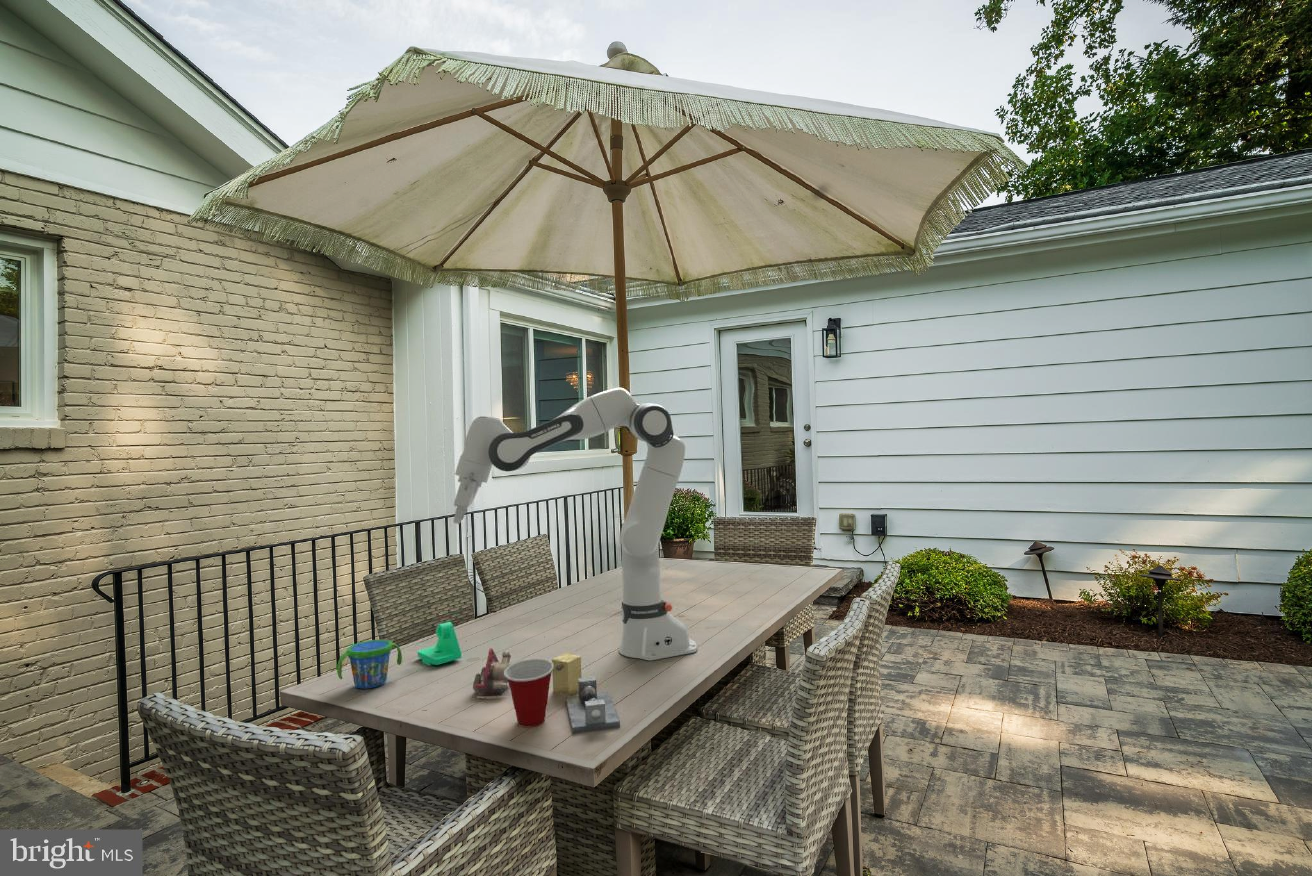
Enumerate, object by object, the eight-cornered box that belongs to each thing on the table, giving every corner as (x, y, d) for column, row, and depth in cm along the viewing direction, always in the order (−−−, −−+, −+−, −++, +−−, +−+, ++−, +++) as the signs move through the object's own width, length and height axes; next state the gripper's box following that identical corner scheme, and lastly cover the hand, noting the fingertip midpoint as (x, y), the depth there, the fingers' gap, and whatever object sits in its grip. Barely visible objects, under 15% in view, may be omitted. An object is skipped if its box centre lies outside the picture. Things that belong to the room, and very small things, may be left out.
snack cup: (397, 671, 173) (396, 634, 173) (407, 682, 165) (406, 643, 165) (334, 686, 164) (332, 647, 164) (341, 698, 156) (340, 657, 156)
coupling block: (568, 684, 160) (567, 652, 160) (583, 687, 157) (582, 655, 158) (550, 693, 154) (549, 660, 155) (566, 697, 152) (565, 663, 152)
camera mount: (416, 660, 183) (415, 624, 183) (441, 653, 189) (440, 618, 189) (436, 669, 175) (434, 632, 175) (461, 661, 180) (460, 625, 180)
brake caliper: (474, 673, 163) (499, 638, 163) (506, 697, 163) (531, 662, 162) (458, 690, 153) (485, 652, 152) (493, 716, 152) (520, 678, 152)
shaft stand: (608, 696, 151) (607, 674, 151) (620, 727, 135) (619, 702, 135) (565, 701, 149) (565, 679, 149) (572, 733, 132) (571, 708, 132)
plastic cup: (495, 729, 136) (493, 673, 136) (523, 709, 146) (521, 656, 146) (539, 736, 132) (537, 678, 132) (564, 714, 142) (562, 660, 142)
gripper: (482, 476, 165) (466, 528, 164) (485, 475, 185) (471, 521, 184) (458, 470, 164) (442, 522, 163) (463, 469, 184) (449, 515, 182)
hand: (457, 521), depth 173 cm, fingers open, 8 cm apart
